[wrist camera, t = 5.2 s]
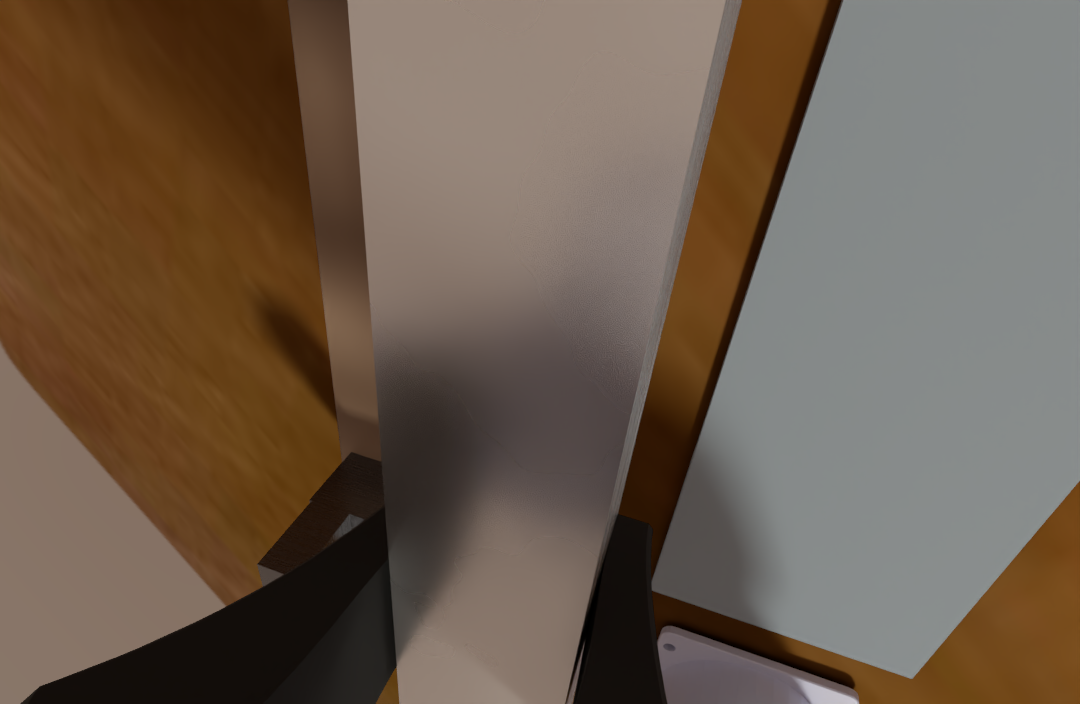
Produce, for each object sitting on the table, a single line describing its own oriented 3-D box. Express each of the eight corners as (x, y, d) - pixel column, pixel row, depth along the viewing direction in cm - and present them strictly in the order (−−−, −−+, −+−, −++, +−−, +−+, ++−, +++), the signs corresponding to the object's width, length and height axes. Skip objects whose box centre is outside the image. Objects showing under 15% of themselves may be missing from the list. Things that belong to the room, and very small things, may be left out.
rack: (550, 531, 26) (486, 691, 20) (360, 468, 28) (253, 598, 22) (658, -133, 13) (570, -199, 8) (299, -167, 15) (18, -239, 10)
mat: (910, 668, 23) (912, 678, 23) (651, 581, 25) (649, 589, 25) (1570, -130, 10) (1599, -133, 9) (899, -178, 12) (902, -182, 12)
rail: (551, 787, 18) (516, 913, 16) (458, 748, 19) (411, 864, 16) (791, -206, 6) (798, -323, 3) (493, -223, 6) (323, -331, 4)
